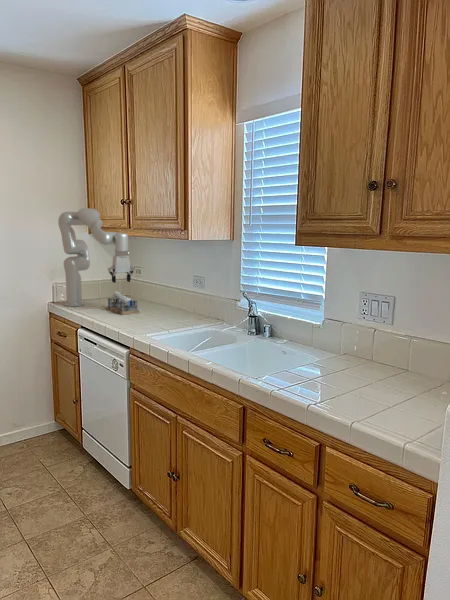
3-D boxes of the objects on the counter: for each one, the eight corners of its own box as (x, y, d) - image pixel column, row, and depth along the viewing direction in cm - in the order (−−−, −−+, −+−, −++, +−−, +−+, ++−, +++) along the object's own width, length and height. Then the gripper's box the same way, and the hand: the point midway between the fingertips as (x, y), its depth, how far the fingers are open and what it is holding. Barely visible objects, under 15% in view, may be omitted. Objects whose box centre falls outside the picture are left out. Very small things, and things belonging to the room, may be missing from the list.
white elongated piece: (126, 300, 266) (110, 289, 285) (126, 311, 268) (110, 299, 287) (134, 299, 269) (118, 288, 288) (134, 310, 271) (118, 298, 290)
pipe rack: (106, 309, 284) (106, 297, 283) (122, 308, 291) (122, 296, 290) (122, 315, 268) (122, 302, 267) (139, 313, 275) (139, 300, 274)
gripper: (131, 253, 282) (131, 280, 285) (105, 253, 271) (105, 281, 274) (137, 254, 277) (137, 282, 280) (111, 254, 266) (110, 283, 268)
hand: (121, 282), depth 277 cm, fingers open, 9 cm apart
